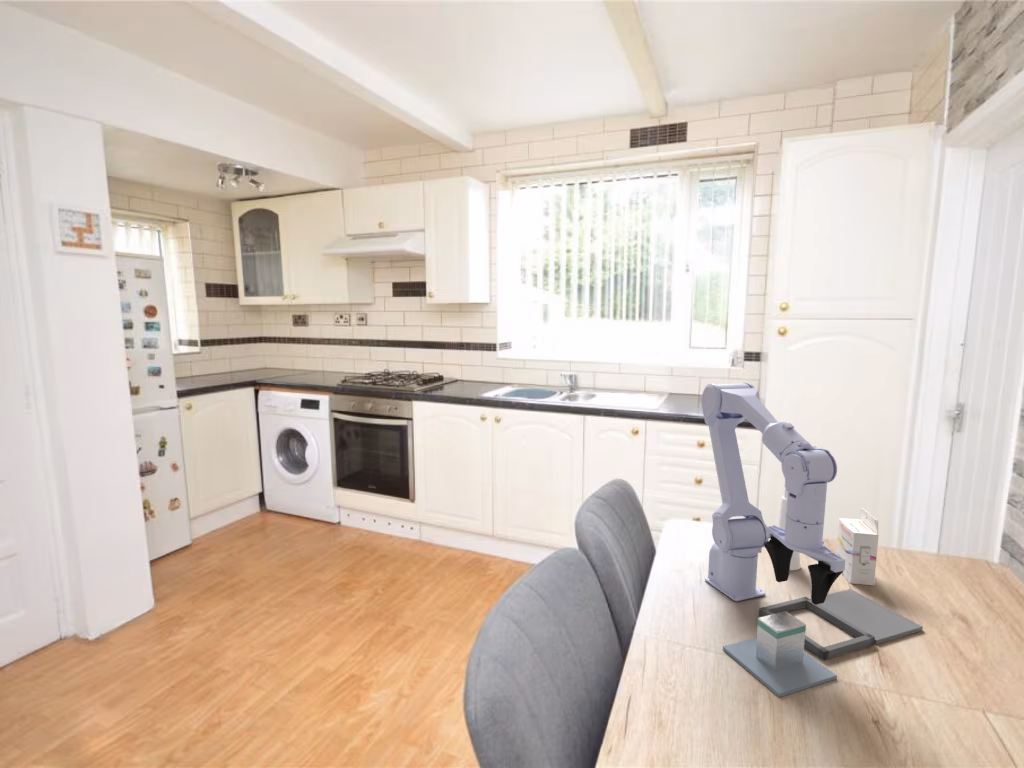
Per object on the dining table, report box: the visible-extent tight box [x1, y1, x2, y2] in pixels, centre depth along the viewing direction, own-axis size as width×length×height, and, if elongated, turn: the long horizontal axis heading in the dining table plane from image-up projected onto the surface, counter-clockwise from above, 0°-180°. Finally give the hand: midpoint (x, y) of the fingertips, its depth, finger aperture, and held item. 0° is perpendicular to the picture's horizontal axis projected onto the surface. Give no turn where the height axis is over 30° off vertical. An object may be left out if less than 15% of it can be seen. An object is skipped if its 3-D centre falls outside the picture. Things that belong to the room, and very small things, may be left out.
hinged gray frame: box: [758, 588, 924, 661], centre depth 97 cm, size 14×24×2 cm, turn 109°
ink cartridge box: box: [835, 507, 880, 586], centre depth 114 cm, size 9×5×15 cm, turn 168°
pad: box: [722, 636, 838, 698], centre depth 86 cm, size 12×12×1 cm
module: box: [756, 611, 807, 672], centre depth 85 cm, size 4×6×7 cm, turn 109°
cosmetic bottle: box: [777, 485, 802, 571], centre depth 119 cm, size 6×6×22 cm
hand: (799, 591), depth 91 cm, fingers open, 7 cm apart
